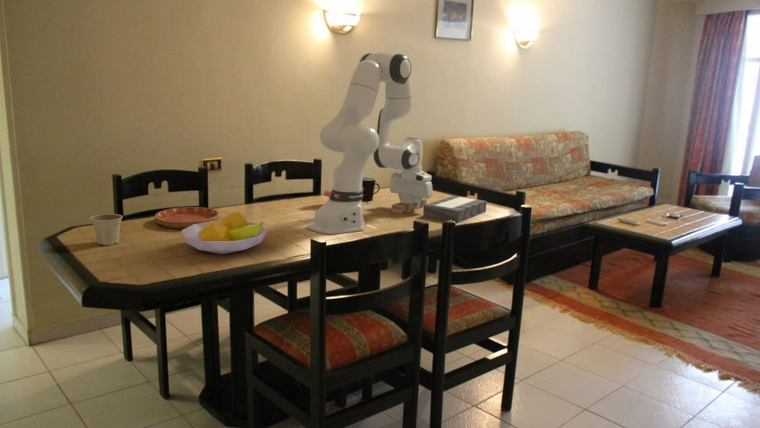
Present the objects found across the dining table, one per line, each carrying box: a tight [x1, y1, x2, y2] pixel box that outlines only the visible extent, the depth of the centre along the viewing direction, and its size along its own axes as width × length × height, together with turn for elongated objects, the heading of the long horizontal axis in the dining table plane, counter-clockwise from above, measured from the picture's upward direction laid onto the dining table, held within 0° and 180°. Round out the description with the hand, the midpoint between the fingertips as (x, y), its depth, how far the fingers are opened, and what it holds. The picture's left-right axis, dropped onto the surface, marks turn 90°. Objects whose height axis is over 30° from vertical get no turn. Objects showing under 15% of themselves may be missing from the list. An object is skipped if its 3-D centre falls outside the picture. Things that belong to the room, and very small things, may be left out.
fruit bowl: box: [181, 210, 268, 255], centre depth 182 cm, size 28×27×11 cm
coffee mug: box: [362, 176, 381, 202], centre depth 265 cm, size 12×9×10 cm
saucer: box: [154, 206, 220, 230], centre depth 213 cm, size 23×23×4 cm
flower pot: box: [89, 213, 123, 246], centre depth 183 cm, size 9×9×9 cm
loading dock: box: [422, 195, 487, 224], centre depth 245 cm, size 28×16×5 cm, turn 146°
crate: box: [401, 193, 413, 204], centre depth 248 cm, size 4×4×4 cm
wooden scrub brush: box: [391, 198, 428, 215], centre depth 251 cm, size 22×5×4 cm, turn 147°
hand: (409, 205), depth 251 cm, fingers open, 6 cm apart
